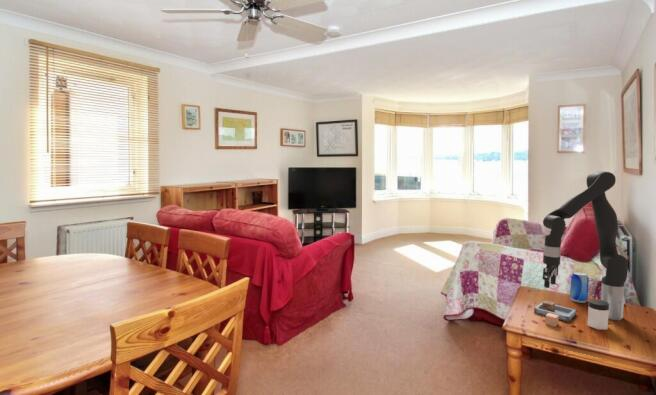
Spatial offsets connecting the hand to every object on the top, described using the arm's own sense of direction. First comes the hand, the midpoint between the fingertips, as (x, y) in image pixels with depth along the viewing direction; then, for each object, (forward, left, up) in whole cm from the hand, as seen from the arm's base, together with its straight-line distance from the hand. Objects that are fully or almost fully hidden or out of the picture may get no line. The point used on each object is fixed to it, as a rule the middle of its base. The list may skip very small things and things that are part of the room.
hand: (549, 285), depth 193 cm
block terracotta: (-4, +8, -17) cm, 19 cm away
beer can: (-4, -37, -17) cm, 41 cm away
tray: (-1, -7, -17) cm, 18 cm away
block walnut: (+2, -7, -16) cm, 18 cm away
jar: (-20, -5, -17) cm, 27 cm away
